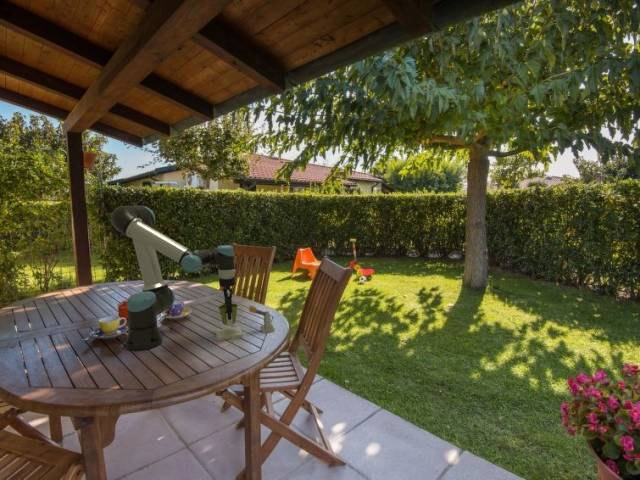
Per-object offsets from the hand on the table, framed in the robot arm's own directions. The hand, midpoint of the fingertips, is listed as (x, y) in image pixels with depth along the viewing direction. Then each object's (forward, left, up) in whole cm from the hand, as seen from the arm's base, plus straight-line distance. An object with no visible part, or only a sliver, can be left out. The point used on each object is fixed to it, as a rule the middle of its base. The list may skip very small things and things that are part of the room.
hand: (229, 322), depth 169 cm
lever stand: (+19, 0, -6) cm, 20 cm away
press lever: (+15, 0, +3) cm, 15 cm away
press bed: (0, 0, -6) cm, 6 cm away
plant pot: (0, 0, 0) cm, 0 cm away
